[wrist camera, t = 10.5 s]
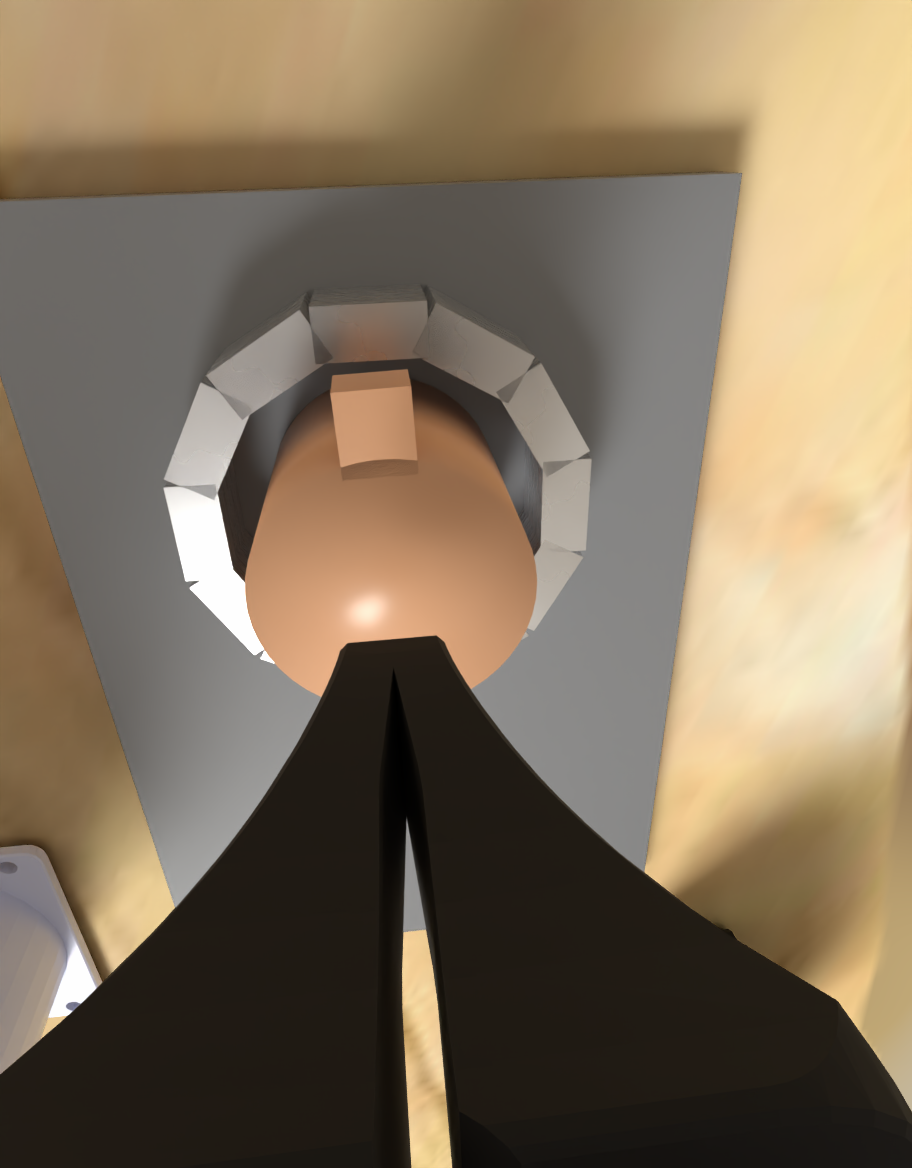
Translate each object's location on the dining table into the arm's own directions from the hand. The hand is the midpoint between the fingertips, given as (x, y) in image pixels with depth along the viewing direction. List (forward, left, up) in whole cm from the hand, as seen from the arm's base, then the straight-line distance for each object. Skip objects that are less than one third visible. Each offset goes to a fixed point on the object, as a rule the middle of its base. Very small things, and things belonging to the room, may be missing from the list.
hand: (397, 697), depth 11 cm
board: (0, -5, -9) cm, 10 cm away
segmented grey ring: (0, 0, -8) cm, 8 cm away
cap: (0, 0, -8) cm, 8 cm away
